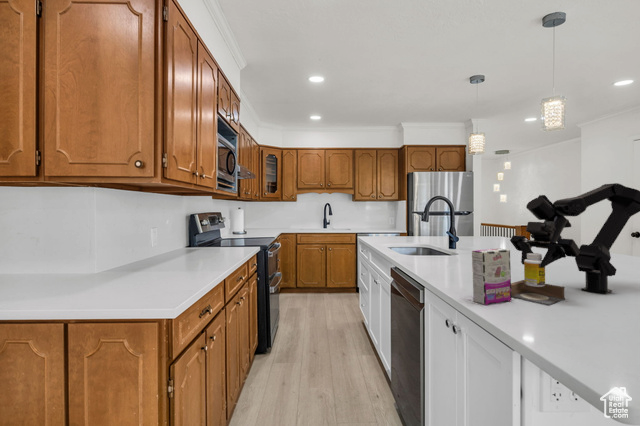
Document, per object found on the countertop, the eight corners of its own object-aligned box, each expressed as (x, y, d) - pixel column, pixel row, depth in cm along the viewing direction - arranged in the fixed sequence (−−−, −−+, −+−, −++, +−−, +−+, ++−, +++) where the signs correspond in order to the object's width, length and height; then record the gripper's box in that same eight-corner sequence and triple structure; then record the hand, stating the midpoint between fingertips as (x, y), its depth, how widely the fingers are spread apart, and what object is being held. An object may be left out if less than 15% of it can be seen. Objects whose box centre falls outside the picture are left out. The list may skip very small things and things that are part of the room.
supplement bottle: (541, 288, 95) (540, 255, 95) (521, 285, 100) (520, 253, 100) (548, 285, 98) (547, 253, 98) (529, 282, 103) (528, 252, 103)
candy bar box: (498, 297, 101) (497, 247, 101) (512, 301, 96) (511, 249, 96) (471, 301, 97) (471, 250, 97) (484, 305, 93) (484, 252, 93)
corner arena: (524, 291, 108) (524, 279, 108) (565, 299, 97) (565, 286, 97) (506, 296, 102) (506, 284, 102) (548, 305, 91) (548, 292, 91)
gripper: (512, 212, 109) (492, 246, 104) (573, 212, 92) (552, 252, 87) (527, 233, 112) (508, 266, 108) (588, 237, 95) (569, 276, 91)
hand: (531, 265), depth 98 cm, fingers closed on supplement bottle, 6 cm apart
